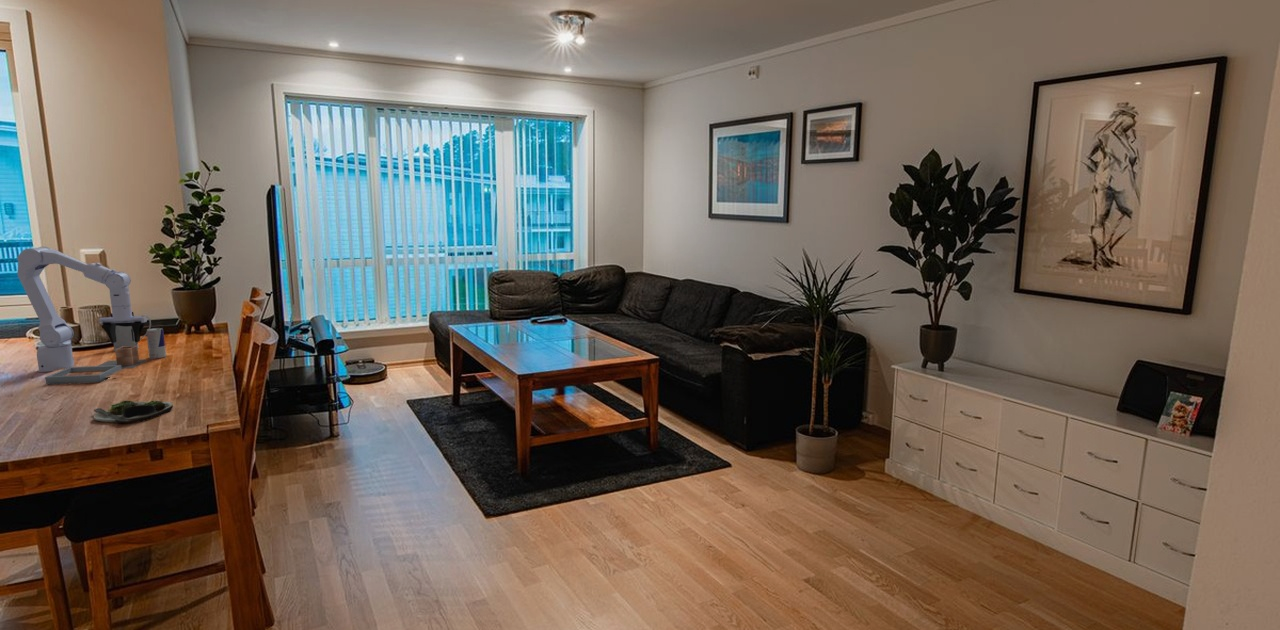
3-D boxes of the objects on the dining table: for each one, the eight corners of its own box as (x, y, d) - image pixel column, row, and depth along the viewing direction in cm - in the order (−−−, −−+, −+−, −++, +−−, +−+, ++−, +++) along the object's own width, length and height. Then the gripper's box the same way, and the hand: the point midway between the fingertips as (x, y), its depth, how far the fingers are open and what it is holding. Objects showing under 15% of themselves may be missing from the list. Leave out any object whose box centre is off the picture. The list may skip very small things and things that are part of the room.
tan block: (117, 365, 252) (115, 349, 251) (126, 361, 258) (124, 345, 257) (132, 364, 253) (130, 348, 252) (141, 360, 259) (139, 345, 258)
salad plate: (70, 424, 193) (67, 408, 192) (124, 405, 210) (122, 390, 209) (133, 427, 190) (131, 411, 190) (182, 407, 208) (180, 393, 207)
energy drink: (169, 358, 267) (166, 328, 265) (159, 361, 262) (155, 330, 260) (157, 357, 267) (153, 327, 265) (146, 361, 262) (142, 330, 260)
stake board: (88, 372, 245) (86, 360, 244) (109, 363, 259) (108, 351, 258) (132, 370, 248) (131, 358, 247) (151, 361, 261) (150, 350, 261)
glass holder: (119, 347, 285) (114, 311, 282) (158, 345, 288) (154, 310, 285) (108, 352, 276) (104, 315, 274) (149, 350, 280) (144, 314, 277)
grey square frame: (46, 384, 230) (45, 377, 229) (70, 373, 243) (69, 367, 243) (100, 382, 233) (99, 375, 233) (122, 371, 246) (121, 365, 246)
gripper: (148, 303, 256) (153, 339, 258) (104, 304, 253) (109, 340, 255) (139, 306, 249) (143, 343, 252) (93, 307, 246) (98, 344, 249)
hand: (125, 342), depth 253 cm, fingers open, 7 cm apart
